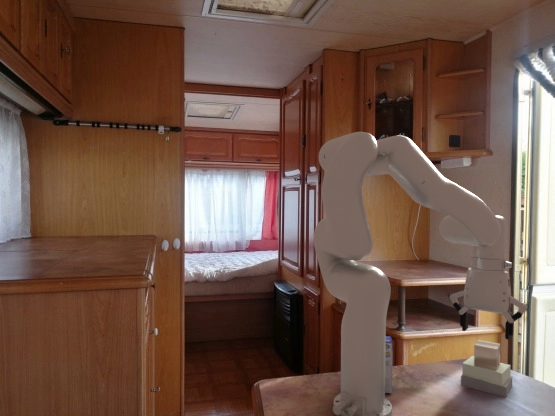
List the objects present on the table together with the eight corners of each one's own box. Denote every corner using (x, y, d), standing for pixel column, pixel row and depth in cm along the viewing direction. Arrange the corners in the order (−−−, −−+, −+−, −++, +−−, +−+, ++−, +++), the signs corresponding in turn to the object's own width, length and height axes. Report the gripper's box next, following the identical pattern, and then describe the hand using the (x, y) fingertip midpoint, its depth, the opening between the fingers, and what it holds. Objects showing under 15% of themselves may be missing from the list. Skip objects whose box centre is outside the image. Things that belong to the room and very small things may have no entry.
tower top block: (501, 386, 97) (502, 373, 97) (462, 375, 103) (462, 363, 103) (510, 377, 102) (510, 365, 102) (472, 367, 108) (472, 355, 108)
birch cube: (496, 370, 99) (497, 349, 99) (474, 365, 102) (474, 344, 102) (500, 363, 103) (500, 343, 103) (478, 359, 106) (478, 339, 106)
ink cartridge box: (391, 384, 102) (391, 326, 102) (393, 394, 97) (393, 333, 97) (351, 380, 104) (351, 324, 104) (350, 390, 99) (351, 330, 99)
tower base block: (506, 400, 96) (506, 387, 96) (460, 388, 102) (461, 376, 102) (512, 388, 102) (512, 376, 102) (469, 377, 109) (469, 366, 109)
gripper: (530, 267, 100) (528, 337, 100) (454, 260, 110) (453, 323, 110) (526, 270, 94) (524, 345, 94) (447, 262, 104) (445, 330, 104)
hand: (485, 333), depth 102 cm, fingers open, 9 cm apart
